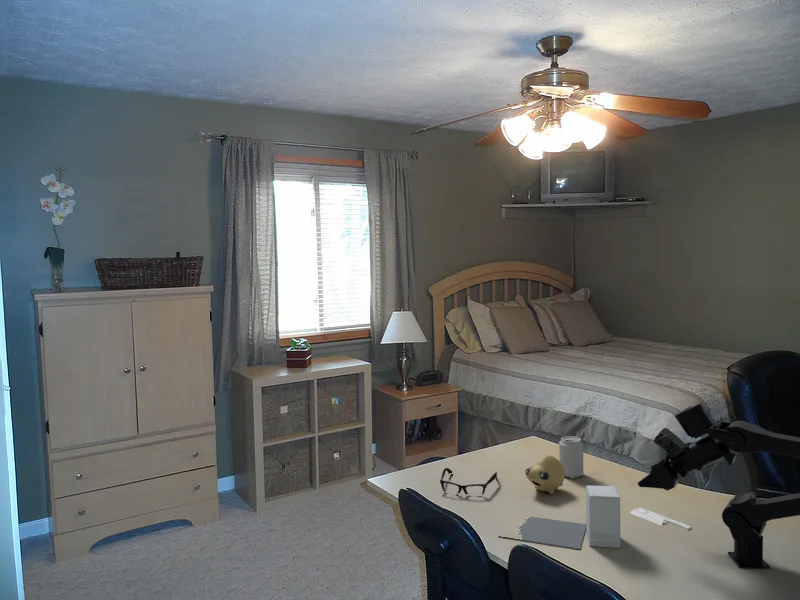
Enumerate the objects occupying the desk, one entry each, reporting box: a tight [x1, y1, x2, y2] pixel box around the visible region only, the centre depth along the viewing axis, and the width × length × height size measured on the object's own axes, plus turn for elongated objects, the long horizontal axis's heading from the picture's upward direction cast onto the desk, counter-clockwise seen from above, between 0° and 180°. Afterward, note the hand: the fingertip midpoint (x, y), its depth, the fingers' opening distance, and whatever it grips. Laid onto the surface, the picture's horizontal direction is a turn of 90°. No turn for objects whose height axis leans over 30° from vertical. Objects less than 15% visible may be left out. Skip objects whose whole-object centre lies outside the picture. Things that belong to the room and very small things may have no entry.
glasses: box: [439, 467, 498, 495], centre depth 186 cm, size 17×18×5 cm
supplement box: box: [585, 485, 622, 549], centre depth 148 cm, size 7×7×13 cm
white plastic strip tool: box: [629, 507, 692, 531], centre depth 158 cm, size 5×15×1 cm, turn 33°
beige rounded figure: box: [525, 454, 566, 495], centre depth 180 cm, size 10×12×11 cm
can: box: [558, 435, 585, 478], centre depth 192 cm, size 8×8×12 cm
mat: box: [518, 516, 586, 551], centre depth 154 cm, size 20×14×1 cm
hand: (644, 479), depth 149 cm, fingers open, 9 cm apart
